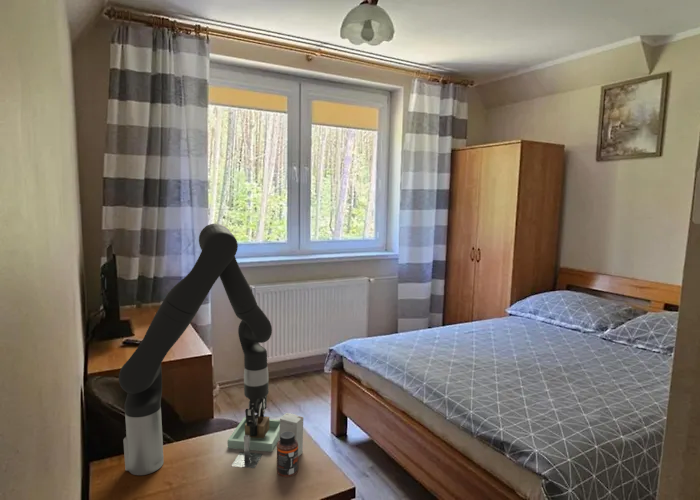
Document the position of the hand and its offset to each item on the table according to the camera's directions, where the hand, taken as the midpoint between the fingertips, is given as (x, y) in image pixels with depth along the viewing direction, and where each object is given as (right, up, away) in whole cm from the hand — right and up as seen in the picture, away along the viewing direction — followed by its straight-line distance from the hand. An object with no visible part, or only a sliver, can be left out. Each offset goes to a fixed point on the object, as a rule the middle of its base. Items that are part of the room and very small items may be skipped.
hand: (257, 430), depth 143 cm
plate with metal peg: (-1, -5, -11) cm, 12 cm away
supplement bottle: (+12, -6, -16) cm, 21 cm away
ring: (0, -1, 0) cm, 1 cm away
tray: (0, -3, 0) cm, 3 cm away
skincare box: (+12, -5, -8) cm, 15 cm away
